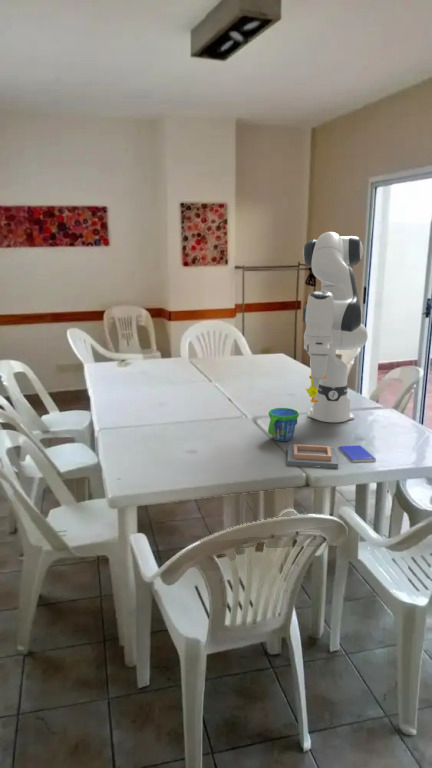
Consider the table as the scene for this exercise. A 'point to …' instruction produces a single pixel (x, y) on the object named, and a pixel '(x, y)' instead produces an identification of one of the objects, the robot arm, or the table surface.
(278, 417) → the snack cup
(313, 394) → the toy figure
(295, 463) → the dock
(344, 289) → the robot arm
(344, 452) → the hard drive
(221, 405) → the table surface
